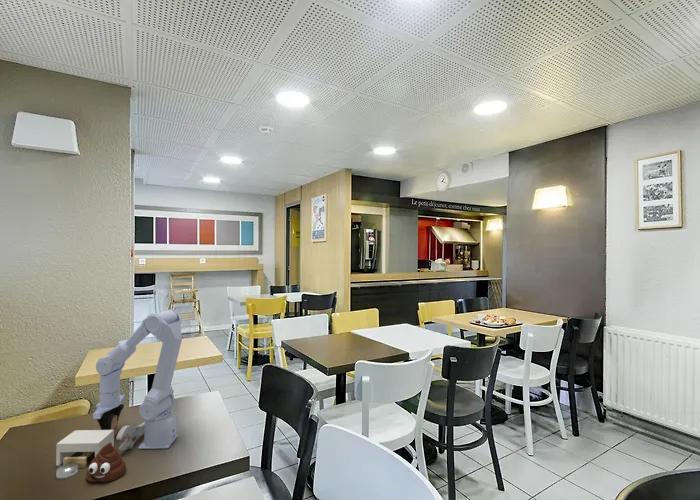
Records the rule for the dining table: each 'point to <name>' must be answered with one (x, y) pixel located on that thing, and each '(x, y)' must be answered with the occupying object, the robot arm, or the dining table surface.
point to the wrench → (130, 435)
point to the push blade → (83, 458)
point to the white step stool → (83, 443)
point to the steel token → (67, 470)
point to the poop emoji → (106, 465)
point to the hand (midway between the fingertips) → (109, 430)
